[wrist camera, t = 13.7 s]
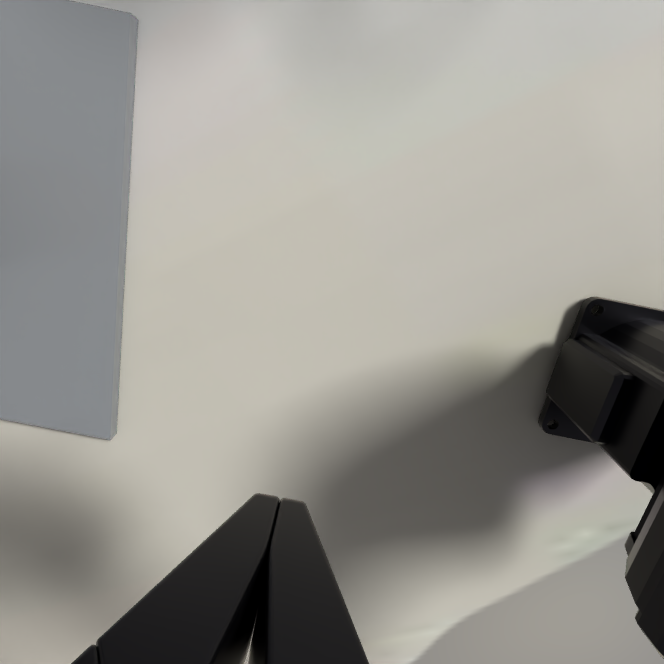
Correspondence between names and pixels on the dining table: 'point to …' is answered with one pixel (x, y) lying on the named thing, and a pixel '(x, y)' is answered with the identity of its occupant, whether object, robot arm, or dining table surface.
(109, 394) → the slate tile
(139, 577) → the dining table surface
